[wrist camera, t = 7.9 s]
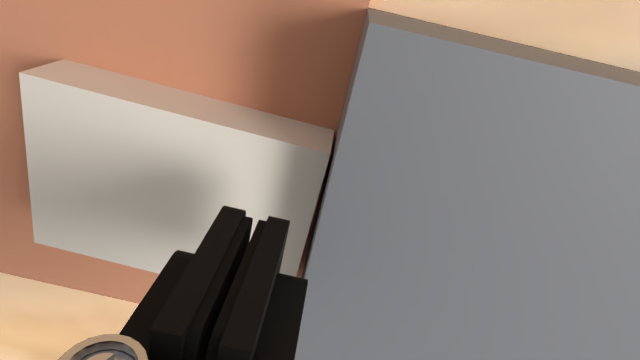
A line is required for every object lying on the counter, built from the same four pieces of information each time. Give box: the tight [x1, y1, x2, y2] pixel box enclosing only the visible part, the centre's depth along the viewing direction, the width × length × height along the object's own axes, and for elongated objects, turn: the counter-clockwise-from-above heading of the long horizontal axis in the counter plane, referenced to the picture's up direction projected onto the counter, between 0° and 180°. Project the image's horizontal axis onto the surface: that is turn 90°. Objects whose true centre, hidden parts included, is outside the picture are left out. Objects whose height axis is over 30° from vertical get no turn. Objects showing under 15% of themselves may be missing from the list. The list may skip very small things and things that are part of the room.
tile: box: [19, 59, 334, 277], centre depth 14 cm, size 9×6×2 cm, turn 76°
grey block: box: [295, 8, 640, 360], centre depth 13 cm, size 16×12×4 cm
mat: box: [0, 0, 370, 304], centre depth 15 cm, size 13×15×1 cm
